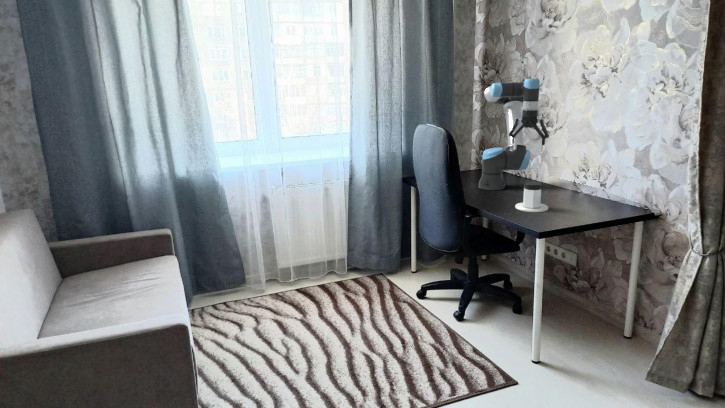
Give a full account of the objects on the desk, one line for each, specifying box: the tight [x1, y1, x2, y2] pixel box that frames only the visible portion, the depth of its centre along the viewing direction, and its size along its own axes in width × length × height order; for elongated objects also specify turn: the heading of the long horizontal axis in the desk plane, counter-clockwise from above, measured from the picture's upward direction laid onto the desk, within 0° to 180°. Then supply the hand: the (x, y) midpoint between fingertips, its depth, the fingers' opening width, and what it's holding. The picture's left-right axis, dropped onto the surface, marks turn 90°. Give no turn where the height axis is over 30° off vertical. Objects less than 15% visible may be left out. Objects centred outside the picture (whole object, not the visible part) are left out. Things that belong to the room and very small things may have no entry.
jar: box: [522, 181, 542, 209], centre depth 249 cm, size 9×8×12 cm
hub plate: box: [514, 202, 549, 213], centre depth 250 cm, size 16×16×1 cm
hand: (527, 150), depth 259 cm, fingers open, 13 cm apart
